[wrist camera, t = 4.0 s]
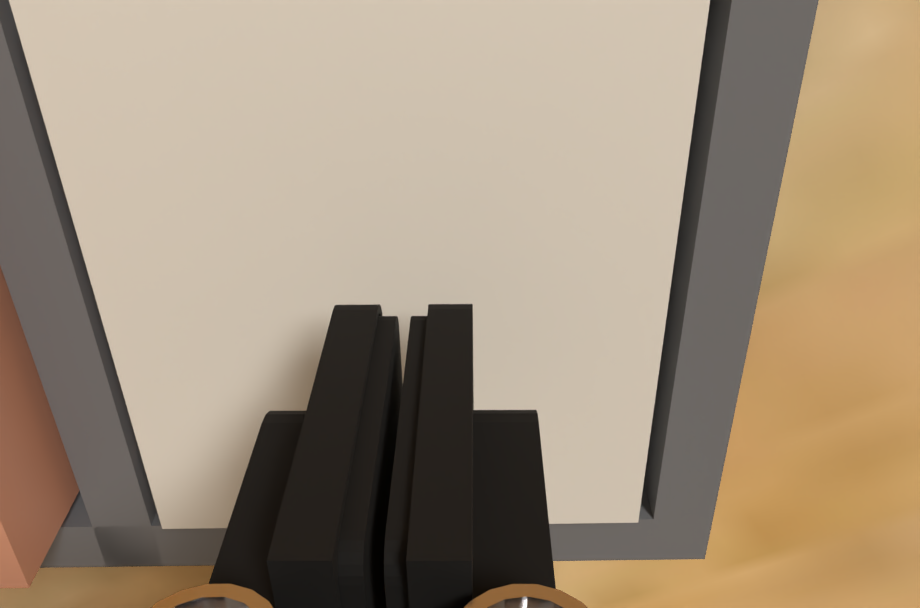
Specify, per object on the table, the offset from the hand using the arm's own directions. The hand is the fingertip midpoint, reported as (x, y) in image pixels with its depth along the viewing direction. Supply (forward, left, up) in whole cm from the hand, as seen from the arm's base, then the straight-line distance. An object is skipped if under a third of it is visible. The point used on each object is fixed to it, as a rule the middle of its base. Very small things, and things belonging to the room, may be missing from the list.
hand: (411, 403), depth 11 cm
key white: (0, 0, -4) cm, 4 cm away
